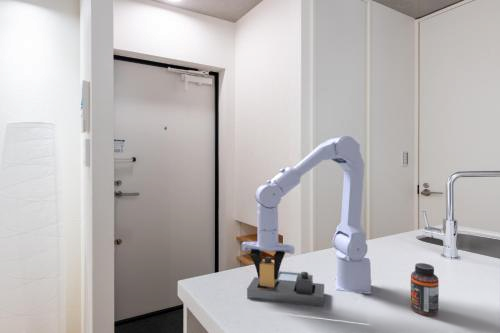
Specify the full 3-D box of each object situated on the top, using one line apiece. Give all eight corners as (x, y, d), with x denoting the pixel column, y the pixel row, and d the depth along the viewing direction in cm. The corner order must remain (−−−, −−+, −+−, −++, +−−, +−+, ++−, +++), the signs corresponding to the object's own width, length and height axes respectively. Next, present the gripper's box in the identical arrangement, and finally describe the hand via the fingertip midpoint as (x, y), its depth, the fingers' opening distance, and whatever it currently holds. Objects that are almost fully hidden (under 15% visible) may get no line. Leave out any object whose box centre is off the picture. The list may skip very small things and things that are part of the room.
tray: (310, 276, 96) (310, 273, 96) (307, 290, 86) (307, 286, 86) (277, 273, 99) (277, 270, 99) (271, 286, 89) (271, 283, 89)
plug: (276, 281, 85) (276, 256, 85) (274, 287, 81) (273, 260, 81) (262, 280, 86) (262, 255, 86) (259, 285, 82) (259, 259, 82)
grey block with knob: (312, 296, 82) (312, 270, 82) (311, 303, 78) (311, 276, 78) (298, 295, 83) (297, 269, 83) (296, 302, 79) (296, 275, 79)
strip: (324, 294, 83) (324, 284, 83) (323, 308, 75) (323, 296, 75) (254, 287, 88) (254, 277, 88) (247, 299, 81) (247, 288, 81)
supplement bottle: (405, 305, 77) (405, 261, 76) (427, 304, 77) (427, 260, 77) (420, 318, 71) (420, 270, 70) (444, 316, 71) (444, 269, 71)
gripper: (295, 226, 85) (296, 274, 85) (246, 224, 89) (247, 269, 89) (292, 232, 78) (292, 284, 78) (239, 229, 82) (239, 278, 82)
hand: (268, 277), depth 83 cm, fingers closed on plug, 4 cm apart
